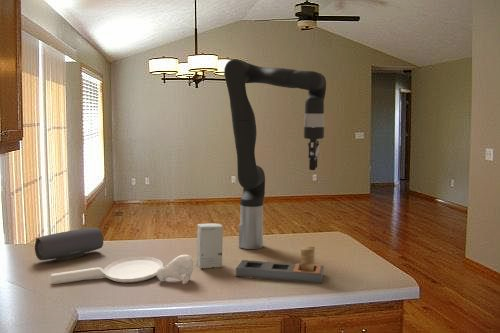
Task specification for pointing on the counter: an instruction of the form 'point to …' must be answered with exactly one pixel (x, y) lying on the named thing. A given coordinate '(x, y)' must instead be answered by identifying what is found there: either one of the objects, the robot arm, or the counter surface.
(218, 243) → the skincare box
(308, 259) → the oak peg
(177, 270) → the white animal figurine
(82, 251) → the bluetooth speaker
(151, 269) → the frying pan
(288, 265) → the graphite rail
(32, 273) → the counter surface
